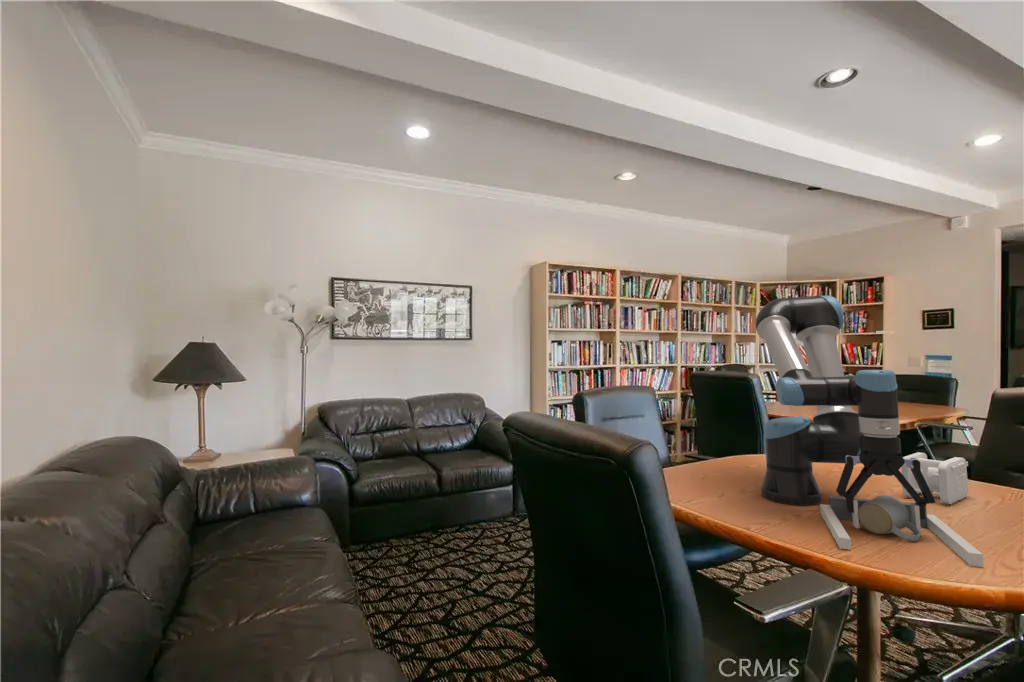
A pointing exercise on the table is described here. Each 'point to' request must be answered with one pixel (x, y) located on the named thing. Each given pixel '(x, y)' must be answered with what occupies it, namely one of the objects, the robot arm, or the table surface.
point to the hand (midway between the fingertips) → (885, 529)
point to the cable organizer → (940, 477)
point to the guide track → (931, 521)
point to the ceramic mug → (887, 517)
